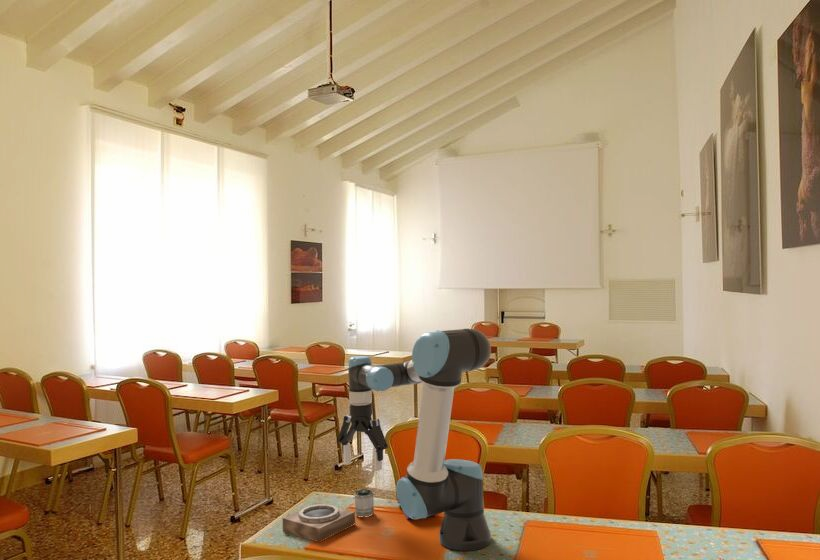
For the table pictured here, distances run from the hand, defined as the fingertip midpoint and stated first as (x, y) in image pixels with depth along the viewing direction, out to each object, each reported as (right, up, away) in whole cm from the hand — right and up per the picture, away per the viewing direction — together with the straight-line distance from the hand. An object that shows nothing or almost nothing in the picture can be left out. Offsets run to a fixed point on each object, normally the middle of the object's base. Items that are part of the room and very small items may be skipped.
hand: (362, 467), depth 209 cm
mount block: (-13, -16, -10) cm, 23 cm away
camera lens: (+1, -16, 0) cm, 16 cm away
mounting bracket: (+17, -16, +2) cm, 23 cm away
